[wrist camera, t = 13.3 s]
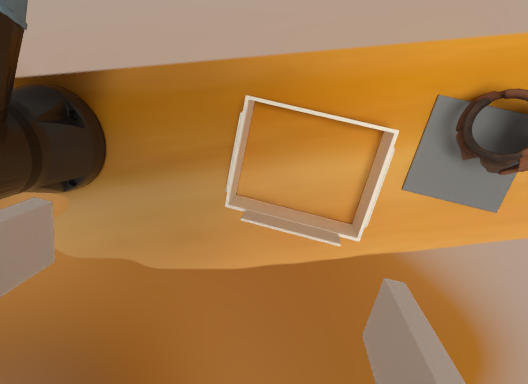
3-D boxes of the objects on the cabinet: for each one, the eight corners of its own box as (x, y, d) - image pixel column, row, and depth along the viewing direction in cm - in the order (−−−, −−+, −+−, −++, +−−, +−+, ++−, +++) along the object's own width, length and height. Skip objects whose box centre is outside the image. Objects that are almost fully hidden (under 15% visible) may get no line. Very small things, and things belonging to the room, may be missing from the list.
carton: (231, 196, 41) (215, 214, 34) (250, 96, 37) (237, 93, 30) (355, 228, 40) (366, 253, 33) (390, 128, 36) (411, 133, 29)
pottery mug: (474, 190, 36) (481, 185, 29) (438, 127, 39) (437, 108, 32) (600, 144, 31) (646, 125, 24) (549, 73, 33) (577, 37, 26)
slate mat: (401, 189, 38) (402, 189, 37) (438, 95, 34) (439, 94, 34) (494, 212, 37) (496, 212, 37) (542, 118, 33) (544, 118, 33)
